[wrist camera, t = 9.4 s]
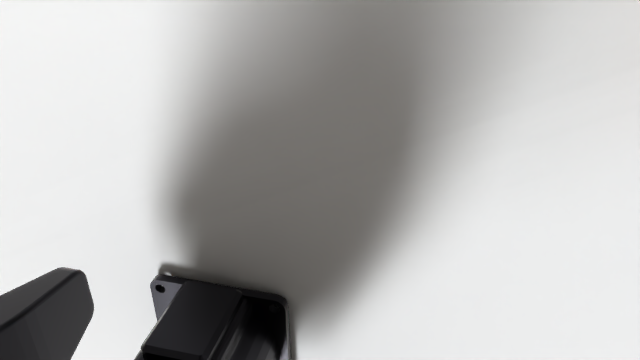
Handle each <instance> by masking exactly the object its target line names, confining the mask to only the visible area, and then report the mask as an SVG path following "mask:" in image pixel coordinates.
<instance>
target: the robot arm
mask: <svg viewBox="0 0 640 360" xmlns="http://www.w3.org/2000/svg"><path fill="white" fill-rule="evenodd" d="M150 288H151V292H152V297H153V302H154V307H155V312H156V317H157V321H158V322H157V323H156V325H155V326H154V328H153V329H152V331H151V332H150V334H149V335H148V337H147V338H146V339H145V341H144V342H143V344H142V346H141V350H140V352H139V353H138V355H137V356H136V358H135V359H134V360H291V352H290V332H289V311H288V302H287V301H286V299H285V298H283V297H282V296H280V295H277V294H271V293H265V292H259V291H254V290H248V289H242V288H236V287H231V286H225V285H219V284H213V283H207V282H202V281H196V280H190V279H184V278H179V277H173V276H167V275H157V276H156V277H155V278H154V280H153V281H152V282H151V284H150ZM274 305H276V306H278V307H275V306H274ZM93 311H94V303H93V299H92V296H91V292H90V289H89V285H88V282H87V278H86V275H85V274H84V273H83V271H81V270H77V269H71V268H65V267H61V268H57V269H55V270H53V271H51V272H49V273H47V274H44V275H42V276H40V277H38V278H36V279H34V280H32V281H30V282H28V283H26V284H24V285H22V286H20V287H17V288H15V289H13V290H11V291H9V292H7V293H5V294H3V295H1V296H0V360H71V358H72V356H73V354H74V352H75V350H76V348H77V346H78V344H79V342H80V340H81V338H82V336H83V334H84V332H85V330H86V328H87V326H88V324H89V322H90V320H91V318H92V315H93Z"/></svg>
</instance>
